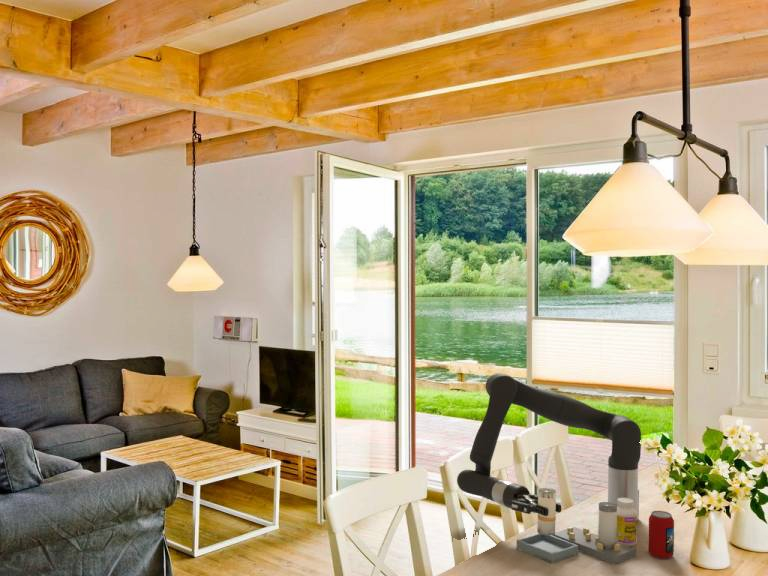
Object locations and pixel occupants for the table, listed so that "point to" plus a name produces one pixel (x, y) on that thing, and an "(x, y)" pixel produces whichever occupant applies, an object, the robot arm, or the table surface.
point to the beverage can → (661, 535)
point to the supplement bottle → (626, 522)
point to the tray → (547, 547)
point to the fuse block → (595, 545)
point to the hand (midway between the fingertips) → (553, 510)
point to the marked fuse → (549, 501)
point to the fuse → (607, 525)
